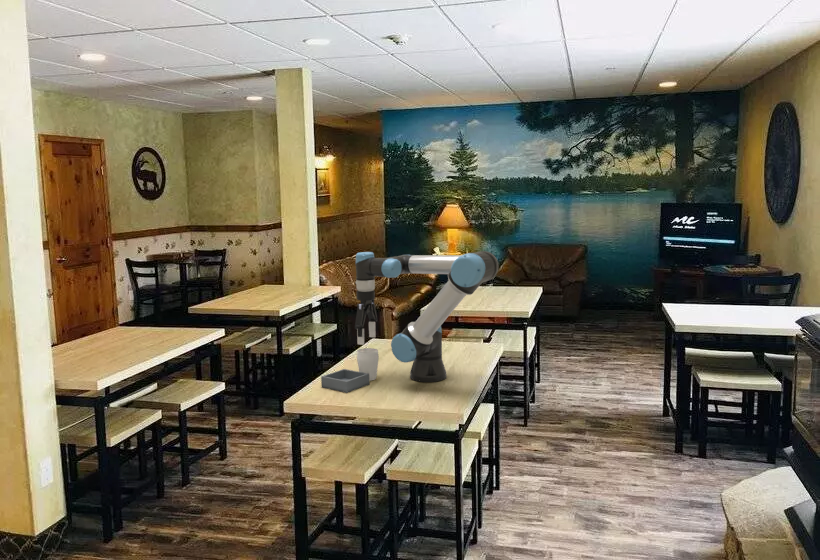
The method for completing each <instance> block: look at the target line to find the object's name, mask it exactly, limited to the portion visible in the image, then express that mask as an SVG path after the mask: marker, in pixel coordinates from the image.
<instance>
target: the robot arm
mask: <svg viewBox="0 0 820 560" xmlns="http://www.w3.org/2000/svg"><path fill="white" fill-rule="evenodd" d="M498 271H499V261H498V259H497V257H496V256H495V255H494V254H493V253H492V252H490V251H487V250H486V251H485V250H480V251H477V252H467V253H465V254H461V255H460V254H459V255H456V254H455V255H452V254H448V255H443V254H440V255H438V254H435V255H434V254H432V255H431V254H430V255H429V254H428V255H426V254H425V255H424V254H422V255H421V254H419V255H417V254H416V255H415V254H402V255H398V256H397V255H395V256H390V257H384V258H383V257H375V253H374V252H373V251H363V252H361V251H360V252H357V253H356V254H355V272H356V273H355V285H356V287H355V288H356V292H355V293H356V300H357V301H360V303H357V304H356V305H357V306H356V307H357V308H356V317H355V323H354V329H355V330H357V331H356V336H357V339H356V341H357V345H359V346H360V345H361V346H362V345H363V346H364V345H365V328H364V325H365V321H366V318H368V338H376V337H377V336H376V335H377V333H376V322H378V315H377V314H378V313H377V310H376V305H375V298H376V291H375V289H376V285H375V283H376V281H375V280H376V279H375V277H380V278H381V277H382V278H387V279H390V278H398V277H399V276H400V275H404V274H411V275H412V274H417V275H418V274H421V275H422V274H424V275H427V274H428V275H429V274H430V275H447V278H448V279H447V282H446V283H445V284H444V286H443V287H442V288H441V289H440V290H439V292H438V293H437V294H436V296H435V297H434V298H433V299H432V300H431V302H430V303H429V304H428V306H427V307H425V309H424V310H423V311H422V313H421V314H420V316H419V317H418V318H417V320H415V321H411V322H409V323H408V324H407V325H406V326H405V328H404V329H403V330H402V332H400V333H397V334H395V335H394V336H393V338H392V339H391V342H390V347H391V352H392V354H393V356H394V357H395V359H396V360H397V361H399V362H401V363H410V362H412V364H411V368H410V372H409V373H410V374H409V378H410V379H411V380H412V381H415V382H420V383H434V382H435V383H436V382H441V381H443V380H445V379H447V371H446V366H445V364H444V361H443V342H442V340H443V336H442V335H443V332H442V325H443V324H444V322H445V321H446V320H447V318H448V317H449V316H450V315H451V314H452V313H453V311H455V309H456V308H457V307H458V305H459V304H460V303H461V302H462V301H463V300H464V299H465V297H466V296H469V295H470V296H471V295H473V294H474V293H475V291H476V290H477V289H478V288H479V287H480V286H481V285H482V283H486V282H488V281H491V280H492V279H493V278H495V277H496V276H497V274H498ZM366 316H367V317H366Z"/></svg>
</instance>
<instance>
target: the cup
mask: <svg viewBox="0 0 820 560" xmlns="http://www.w3.org/2000/svg"><path fill="white" fill-rule="evenodd" d="M356 362H357V366H358V372H363V373H368V374H369V382H370V381H374V380H375V381H376V379H377V373H378V366H379V349H377V348H373V347H365V348H359V349H357V351H356Z"/></svg>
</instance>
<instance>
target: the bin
mask: <svg viewBox="0 0 820 560" xmlns="http://www.w3.org/2000/svg"><path fill="white" fill-rule="evenodd" d="M320 381H321V383H320V384H321V385H320V386H321V388H323V389H328V390H332V391H337V392H340V393H346V394H348V393H351V392H354V391H355V390H359V389H362V388H364V387H366V386H369V385H370V381H369V374H368V373H363V372H359V370H358V371H357V370H351V369H347V368H343V369H340V370H337V371H334V372H331V373H327V374H325V375H321V376H320Z"/></svg>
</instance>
